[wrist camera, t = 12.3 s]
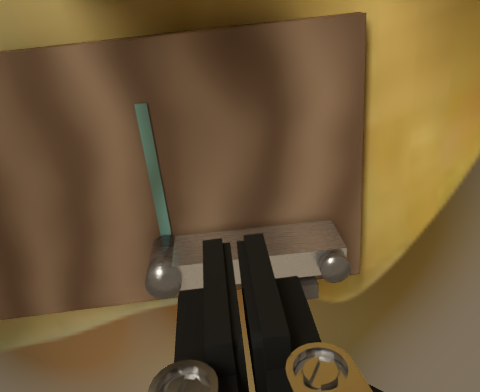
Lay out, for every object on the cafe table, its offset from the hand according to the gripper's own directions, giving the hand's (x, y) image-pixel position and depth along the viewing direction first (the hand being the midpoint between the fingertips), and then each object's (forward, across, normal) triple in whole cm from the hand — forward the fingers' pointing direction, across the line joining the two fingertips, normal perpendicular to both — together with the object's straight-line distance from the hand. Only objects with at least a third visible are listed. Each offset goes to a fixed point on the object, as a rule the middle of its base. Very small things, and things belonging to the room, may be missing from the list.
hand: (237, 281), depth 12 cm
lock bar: (+19, -1, +10) cm, 21 cm away
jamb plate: (+21, +5, +5) cm, 22 cm away
